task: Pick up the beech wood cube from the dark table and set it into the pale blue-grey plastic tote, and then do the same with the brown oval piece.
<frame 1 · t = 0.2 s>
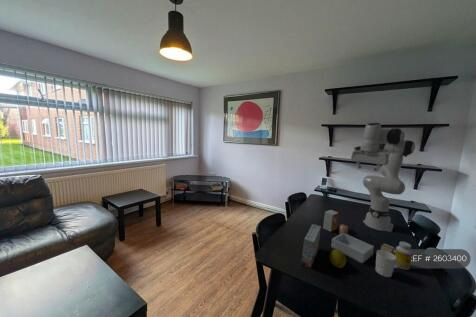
hand: (367, 169, 124), 47 cm above the table, fingers open, 8 cm apart
beech cube: (386, 254, 113), on the table
tote: (351, 251, 115), on the table
snack box: (310, 256, 109), on the table
brown oval piece: (342, 235, 133), on the table
supplement bottle: (401, 266, 104), on the table
lemon: (336, 265, 102), on the table
small box: (329, 229, 142), on the table
white cup: (383, 272, 98), on the table
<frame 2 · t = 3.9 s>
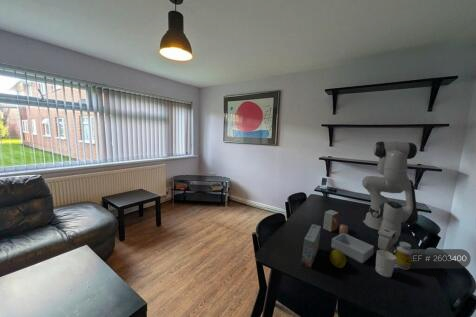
hand: (387, 251, 113), 2 cm above the table, fingers closed on beech cube, 5 cm apart
beech cube: (386, 254, 113), on the table, touching gripper
everything else where it was.
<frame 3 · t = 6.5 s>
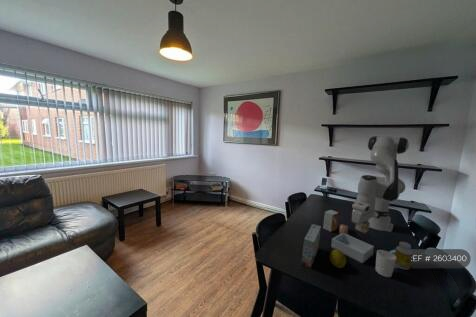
hand: (362, 227, 110), 17 cm above the table, fingers closed on beech cube, 5 cm apart
beech cube: (361, 229, 110), point 15 cm above the table, touching gripper
everything else where it was.
when the fingers open (4 cm above the table, at t = 9.3 s): beech cube drops 1 cm, resting on tote.
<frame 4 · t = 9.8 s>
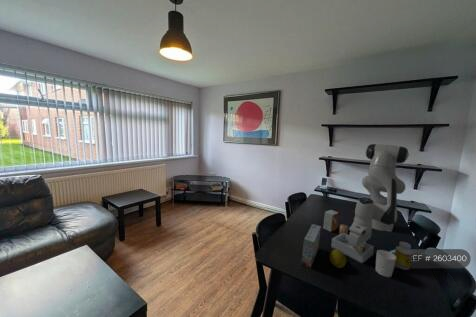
hand: (359, 248, 112), 4 cm above the table, fingers open, 8 cm apart
beech cube: (358, 253, 112), point 1 cm above the table, touching tote
everything else where it was.
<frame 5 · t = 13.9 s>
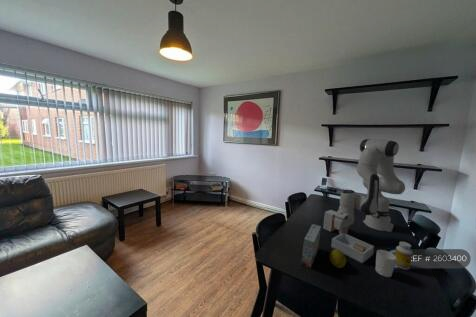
hand: (343, 232, 133), 2 cm above the table, fingers closed on brown oval piece, 5 cm apart
brown oval piece: (342, 235, 133), on the table, touching gripper
everything else where it was.
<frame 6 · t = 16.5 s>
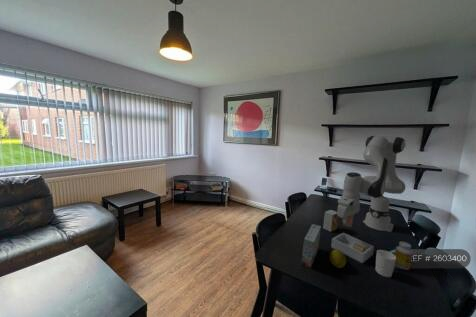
hand: (347, 221, 116), 17 cm above the table, fingers closed on brown oval piece, 5 cm apart
brown oval piece: (347, 225, 117), point 15 cm above the table, touching gripper
everything else where it was.
when the fingers open (4 cm above the table, at t = 19.2 s): brown oval piece drops 1 cm, resting on tote.
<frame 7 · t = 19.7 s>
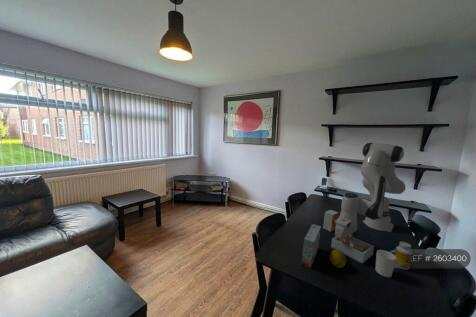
hand: (345, 241, 118), 4 cm above the table, fingers open, 8 cm apart
brown oval piece: (344, 246, 119), point 1 cm above the table, touching tote
everything else where it was.
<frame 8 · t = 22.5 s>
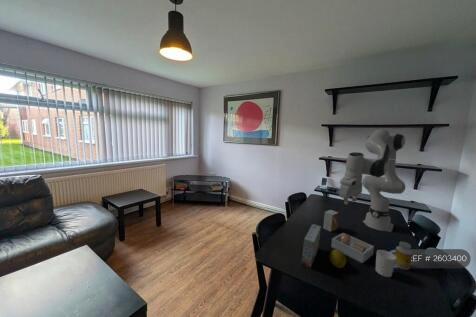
hand: (350, 202, 115), 29 cm above the table, fingers open, 8 cm apart
nothing on the table moved.
at the end: beech cube inside the target area on the tote (4.1 cm from its centre), point 0.6 cm above the tote's base; brown oval piece inside the target area on the tote (4.1 cm from its centre), point 0.6 cm above the tote's base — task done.
